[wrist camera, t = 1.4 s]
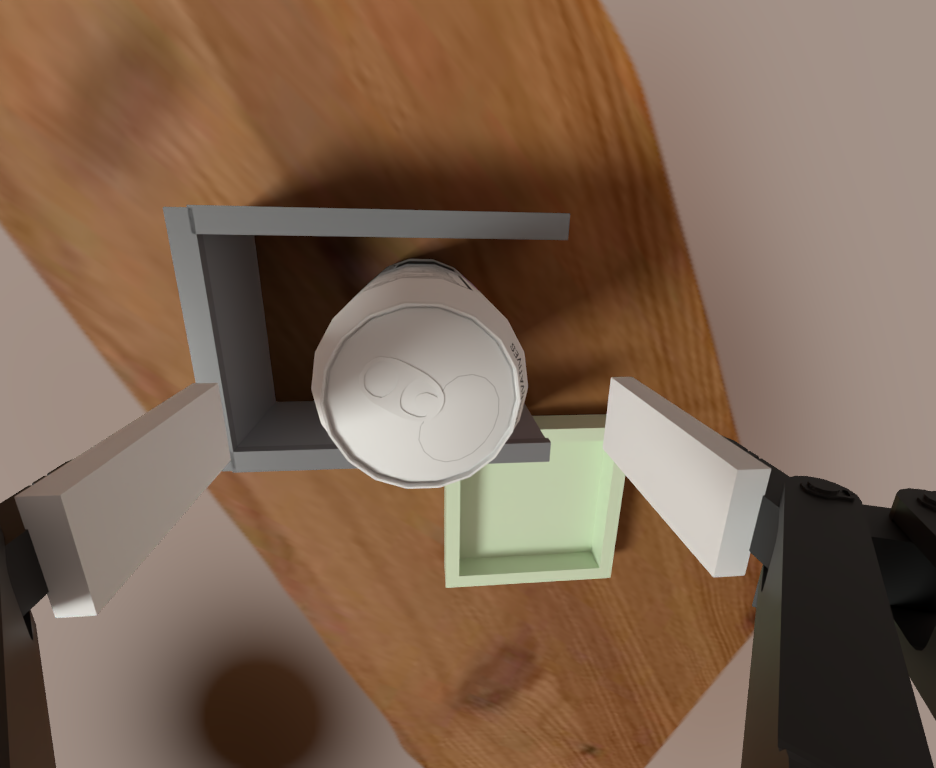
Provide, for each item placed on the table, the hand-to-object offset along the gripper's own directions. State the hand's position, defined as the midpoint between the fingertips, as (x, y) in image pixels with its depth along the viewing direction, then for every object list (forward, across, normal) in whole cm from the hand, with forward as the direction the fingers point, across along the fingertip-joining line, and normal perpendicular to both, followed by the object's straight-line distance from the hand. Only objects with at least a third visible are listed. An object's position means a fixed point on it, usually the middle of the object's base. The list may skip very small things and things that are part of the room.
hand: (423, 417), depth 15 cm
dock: (+16, -2, 0) cm, 16 cm away
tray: (+16, +8, -13) cm, 22 cm away
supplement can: (+16, 0, 0) cm, 16 cm away
